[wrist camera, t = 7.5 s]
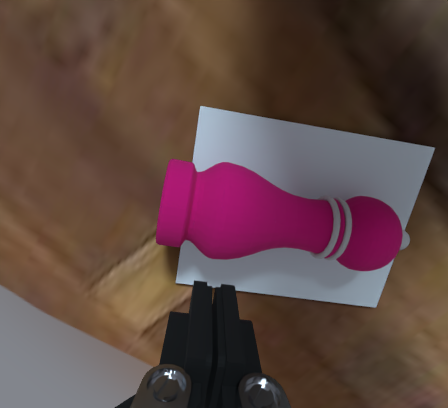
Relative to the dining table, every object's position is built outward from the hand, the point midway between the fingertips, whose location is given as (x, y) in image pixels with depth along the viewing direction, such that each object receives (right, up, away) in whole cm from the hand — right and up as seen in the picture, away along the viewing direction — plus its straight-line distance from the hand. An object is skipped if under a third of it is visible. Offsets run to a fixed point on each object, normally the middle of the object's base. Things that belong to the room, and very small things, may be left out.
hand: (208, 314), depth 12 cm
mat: (+7, +3, +15) cm, 17 cm away
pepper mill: (-4, +5, +10) cm, 11 cm away
